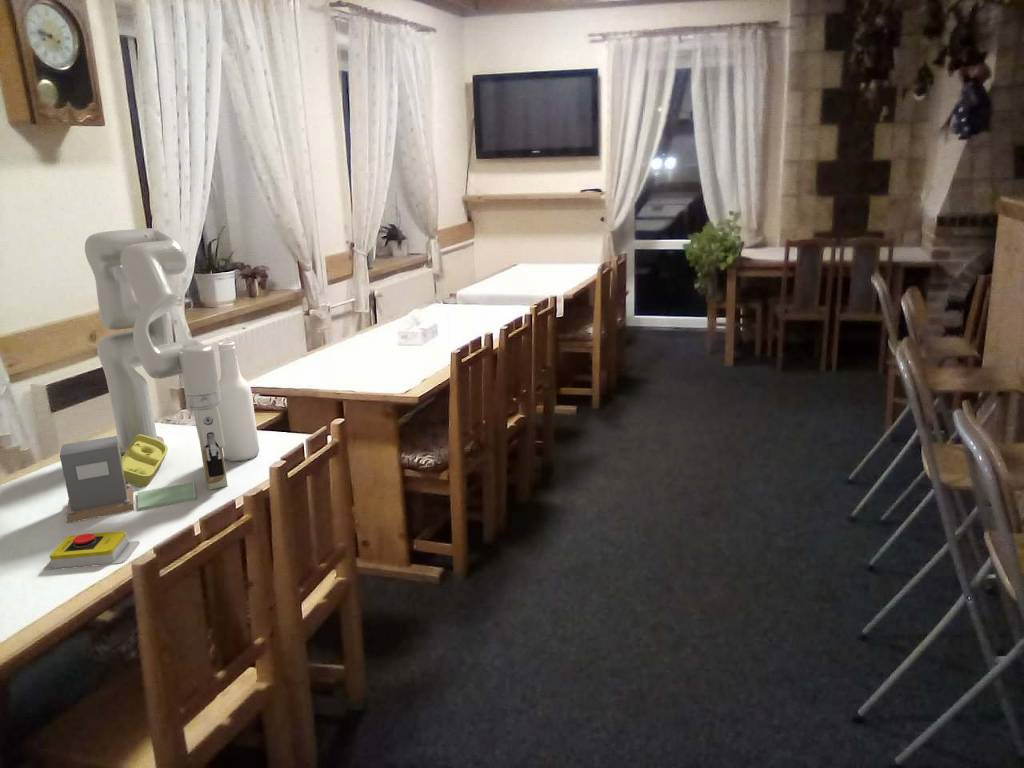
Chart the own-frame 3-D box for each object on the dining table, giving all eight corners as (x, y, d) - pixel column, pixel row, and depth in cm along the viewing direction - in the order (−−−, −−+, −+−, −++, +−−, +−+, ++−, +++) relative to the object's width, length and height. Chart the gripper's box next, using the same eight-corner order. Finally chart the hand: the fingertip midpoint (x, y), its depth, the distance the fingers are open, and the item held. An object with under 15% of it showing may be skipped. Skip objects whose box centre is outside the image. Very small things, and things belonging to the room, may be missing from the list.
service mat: (137, 494, 183) (137, 492, 183) (193, 484, 188) (192, 481, 188) (138, 510, 175) (138, 507, 174) (196, 498, 179) (196, 496, 179)
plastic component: (149, 478, 187) (106, 464, 185) (141, 504, 189) (97, 491, 187) (172, 444, 206) (133, 431, 203) (164, 468, 208) (125, 456, 205)
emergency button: (59, 530, 157) (137, 523, 159) (63, 550, 158) (141, 543, 160) (37, 551, 148) (121, 544, 150) (42, 573, 149) (125, 565, 151)
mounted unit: (70, 503, 180) (57, 442, 176) (132, 491, 186) (122, 432, 182) (67, 523, 170) (53, 459, 166) (133, 509, 175) (122, 447, 171)
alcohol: (265, 450, 209) (250, 338, 201) (250, 462, 201) (234, 346, 193) (234, 450, 211) (218, 339, 203) (218, 462, 202) (200, 347, 194)
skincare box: (205, 481, 189) (197, 433, 186) (224, 477, 191) (217, 429, 188) (208, 490, 184) (201, 440, 181) (228, 486, 186) (220, 437, 183)
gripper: (225, 405, 176) (235, 477, 181) (216, 388, 191) (226, 455, 196) (189, 411, 173) (200, 484, 177) (183, 393, 188) (194, 460, 193)
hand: (214, 469), depth 187 cm, fingers open, 9 cm apart
